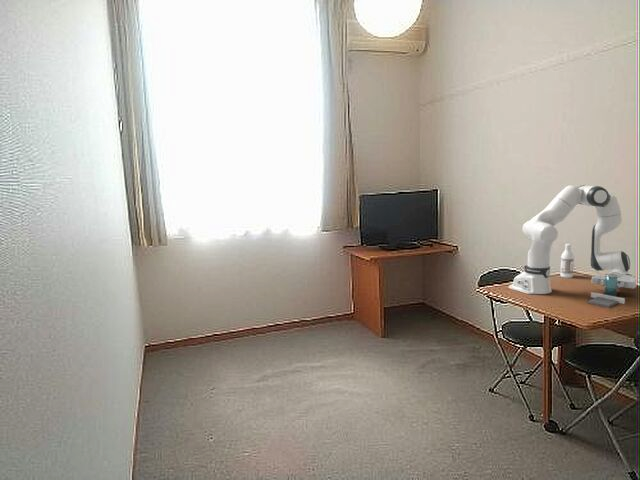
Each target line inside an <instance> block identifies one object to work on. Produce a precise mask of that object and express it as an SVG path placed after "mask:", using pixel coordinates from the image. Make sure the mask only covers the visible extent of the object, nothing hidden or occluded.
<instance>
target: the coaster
mask: <svg viewBox="0 0 640 480" xmlns="http://www.w3.org/2000/svg"><path fill="white" fill-rule="evenodd" d="M587 304H590V305H595V306H598V307H599V306H600V307H604V308H612V307H614V306H615V305H618V304H619V303H618V301H616V300H611V299H606V298H600V297H596V298H591V299H590V300H587Z"/></svg>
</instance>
